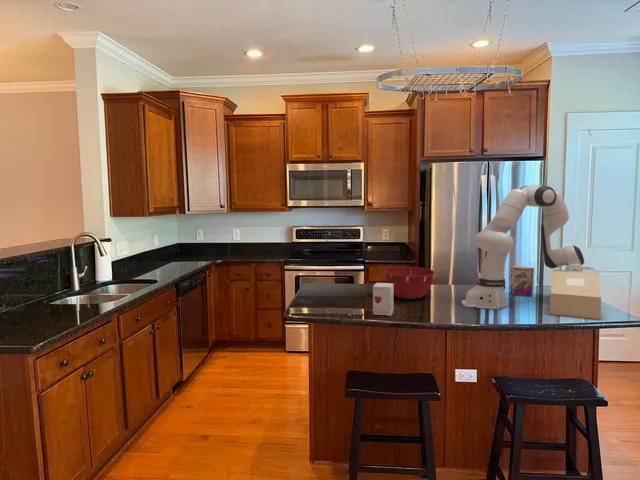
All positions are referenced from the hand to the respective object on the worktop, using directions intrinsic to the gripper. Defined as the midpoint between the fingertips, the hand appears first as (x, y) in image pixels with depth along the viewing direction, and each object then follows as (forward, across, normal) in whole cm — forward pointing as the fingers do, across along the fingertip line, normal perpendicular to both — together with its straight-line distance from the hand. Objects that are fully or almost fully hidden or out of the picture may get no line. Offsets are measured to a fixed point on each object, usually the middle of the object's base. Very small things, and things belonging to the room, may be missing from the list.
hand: (574, 277), depth 202 cm
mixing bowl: (+9, -82, +16) cm, 84 cm away
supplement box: (+50, -81, +16) cm, 96 cm away
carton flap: (+9, 0, +2) cm, 10 cm away
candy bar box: (-22, -25, +16) cm, 37 cm away
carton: (+8, 0, +16) cm, 18 cm away
